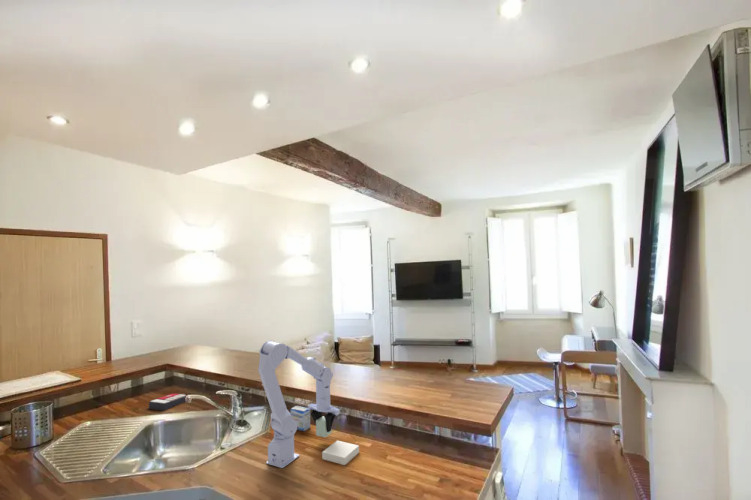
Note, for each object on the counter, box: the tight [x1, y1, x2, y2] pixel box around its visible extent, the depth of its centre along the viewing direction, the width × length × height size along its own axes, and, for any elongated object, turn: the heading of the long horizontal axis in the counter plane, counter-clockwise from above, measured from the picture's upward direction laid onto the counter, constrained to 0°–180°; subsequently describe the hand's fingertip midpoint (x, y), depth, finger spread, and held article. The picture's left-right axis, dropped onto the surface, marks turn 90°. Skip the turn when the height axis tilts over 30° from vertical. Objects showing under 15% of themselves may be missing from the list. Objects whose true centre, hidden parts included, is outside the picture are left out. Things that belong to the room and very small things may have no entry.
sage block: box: [315, 415, 333, 438], centre depth 149 cm, size 4×4×6 cm
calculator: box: [148, 393, 187, 412], centre depth 198 cm, size 11×4×15 cm
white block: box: [321, 440, 360, 466], centre depth 138 cm, size 10×10×3 cm
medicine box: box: [290, 405, 311, 432], centre depth 163 cm, size 8×4×9 cm, turn 62°
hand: (323, 430), depth 149 cm, fingers closed on sage block, 4 cm apart
